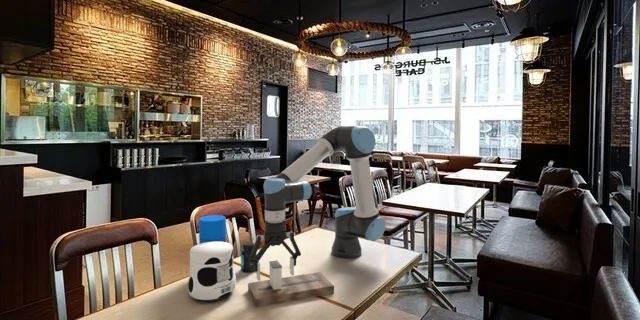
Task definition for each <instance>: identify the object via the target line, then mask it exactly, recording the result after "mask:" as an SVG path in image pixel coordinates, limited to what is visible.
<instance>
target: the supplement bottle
mask: <svg viewBox="0 0 640 320" xmlns="http://www.w3.org/2000/svg"><path fill="white" fill-rule="evenodd" d="M254 244H255V242H251V241H248V242H244V243H242V249H241V251H240V271H241V272H242V273H244V274H251V273H255V271H254V263H253V262H250V261H249V256H250V254H251V251H252V249H253V247H254ZM257 254H258V252H257V253H256V255H257ZM256 255H255V256H256Z"/></svg>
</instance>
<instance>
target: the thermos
mask: <svg viewBox="0 0 640 320" xmlns="http://www.w3.org/2000/svg"><path fill="white" fill-rule="evenodd" d="M198 233H199V234H198V236H199V237H198V239H199V240H198V241H199V243H198V244H201V243H206V242H215V241H217V242H227V219H226V216H224V215H219V214H218V215H217V214H216V215H215V214H213V215H212V214H211V215H206V216H202V217H200V218H199V220H198Z"/></svg>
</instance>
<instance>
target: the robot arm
mask: <svg viewBox="0 0 640 320" xmlns="http://www.w3.org/2000/svg"><path fill="white" fill-rule="evenodd" d="M375 146H376V136H375V133H374V132H373V131H372V129H371V128H369V127H368V126H363V125H362V126H361V125H349V126H348V125H346V126H345V125H340V126H337V127H333V128H332V129H331V130H329V131H327V132H326V133H324V134H323V135H322V136H321V137H319V138H318V139H317V141H316V144H314V145H313V146H312V147H311V148H310V149H308V150H307V151H306V152H304V154H302V155H301V156H300V157H298V158H297V159H296V160H295V161H294V162H292V163H291V164H290V165H289V166H287V167H286V168H285V169H284V170H283V171H281V172H280V173H279V174H278V175H276V176H273V177H268V178H266V179H265V180H264V181H263V182H264V183H263V185H262V186H263V192H264V220H265V222H264V234H262V235H261V234H256V235H255V242H254V247H253V249H252V251H251V254H250V256H249V261H250V262H253V263H254V273H256V279H257V282H259V281H261V262H260V260H261V259H262V258H263V256H264V254H265V253H266V252H267V250H268V249H270V247H275V246H280V245H282V246H283V247H284V248H285V249H286V250H287V252H289V254H290V256H289V274H290V275H291V276H295V266H296V265H297V259H298V257H300V256H301V255H302V253H301V251H300V249H299V248H300V247H298V244H297V241H296V239H295V236H294V235H295V233H294V232H293V231H292V230H289V231H287V232H286V204H289V203H294V202H302V201H303V202H304V201H306V200H309V199H310V198H311V196H312V192H313V191H312V190H313V189H312V186H311V184H310V183H309V181H306V180H301V179H303V178H304V177H305V176H306V175H307V174H308V173H310V172H311V171H312V170H313V169H314V168H315V167H316V166H318V165H319V164H320V163H321V162H323V160H324V159H326V158H327V157H332V156H333V155H334V154H336V153H338V152H344V153H345V158H346V160H348V161H349V165H350V171H351V179H352V186H353V194H354V202H355V206H350V207H349V206H347V207H346V206H345V207H340V208H337V209H336V210H335V214H334V215H335V216H334V230H335V231H334V240H333V244H332V246H331V254H332V255H333V256H334V257H337V258H341V259H354V258H357V257H358V258H359V257H360V256H361V255H362V247H361V243H360V240H359V238H360V239H361V238H362V239H365V240H367V241H370V242H371V241H372V242H377V241H379V239H381V238H382V236H383V235H384V232H385V230H386V220H385V218H383V217H382V216H380V212H379V211H380V210H379V209H378V208H377V207H376V206H375V198H374V190H373V183H372V174H371V168H370V160H369V159H370V157H371V156H372V152H373V151H374V149H375ZM287 238H288V239H289V240H290V242H291V245H292V247H293V250H294V251H295V252H294V251H293V250H292V248H290V246H289V245H288V244H287V243H286V241H285V239H287ZM263 240H264V241H265V242H264V243H263V245H262V246H261V242H262V241H263ZM260 246H261V248H260ZM259 248H260V249H259ZM258 250H259V251H258ZM256 253H257V255H256ZM255 255H256V256H255ZM296 267H297V266H296Z"/></svg>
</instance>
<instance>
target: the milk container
mask: <svg viewBox="0 0 640 320" xmlns="http://www.w3.org/2000/svg"><path fill="white" fill-rule="evenodd" d="M189 270H190V271H189V276H188V281H187V290H188V293H189V296H190V297H191V298H192V299H194V300H197V301H200V302H212V301H213V302H214V301H218V300H222V299H224V298H227V297H228V296H230V295H231V294H232V293H233V292H234V290H235V288H236V285H237V278H236V277H237V276H236V272H235V268H234V247H233V245H232V244H231V243H229V242H227V241H226V242H217V241H215V242H206V243H201V244H199V243H198V244H196V245H194V246H192V247H190V251H189Z"/></svg>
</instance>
